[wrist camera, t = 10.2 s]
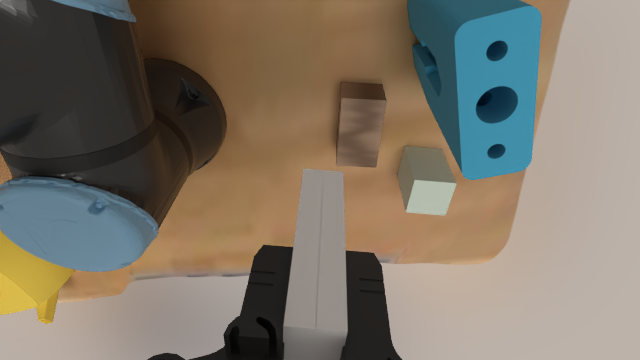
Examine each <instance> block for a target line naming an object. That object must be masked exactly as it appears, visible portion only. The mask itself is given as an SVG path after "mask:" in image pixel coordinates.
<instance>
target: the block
mask: <svg viewBox="0 0 640 360" xmlns="http://www.w3.org/2000/svg"><path fill="white" fill-rule="evenodd" d="M407 7H408V16H409V24H410V28H411V30H412V31H413V33H414V34H415V36H416V37H417V39H418V40H419V42H420V43H421V44H418V45H414V46H412V48H413V57H414V64H415V68H416V71H417V73H418V76H419V79H420V82H421V85H422V88H423V91H424V94H425V96H426V99H427V102H428V104H429V106H430V108H431V111H432V113H433V115H434V117H435V119H436V121H437V123H438V125H439V127H440V129H441V131H442V133H443V135H444V137H445V139H446V141H447V143H448V145H449V147H450V149H451V151H452V154H453V156H454V158H455V160H456V162H457V164H458V166H459V168H460V170H461V172H462V174H463V176H464V177H465V178H467V179H470V180H476V179H482V178H487V177H493V176H498V175H504V174H509V173H514V172H519V171H522V170H524V169H525V168H526V167H528V165H529V164H530V162H531V159H532V147H533V133H534V119H535V105H536V91H537V76H538V62H539V48H540V34H541V14H540V11H539V10H538V9H537V8H535V7H533V6H531V5H529V4H527V3H524V2H522V1H520V0H408V3H407Z"/></svg>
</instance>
